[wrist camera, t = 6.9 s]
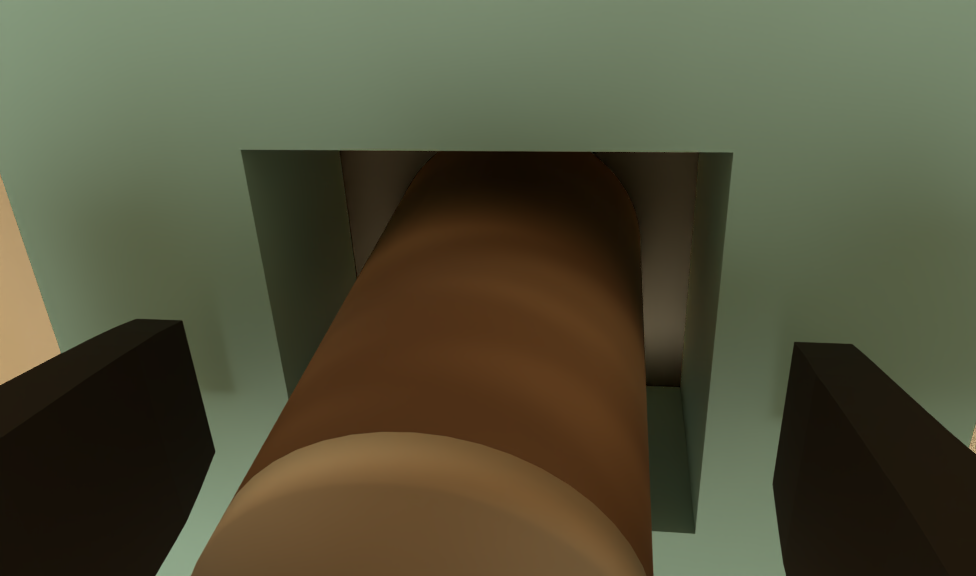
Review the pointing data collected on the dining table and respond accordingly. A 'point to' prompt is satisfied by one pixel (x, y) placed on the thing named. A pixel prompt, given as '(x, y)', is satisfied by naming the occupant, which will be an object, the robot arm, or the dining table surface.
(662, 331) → the dining table surface
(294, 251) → the socket block
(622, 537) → the peg
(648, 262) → the dining table surface
